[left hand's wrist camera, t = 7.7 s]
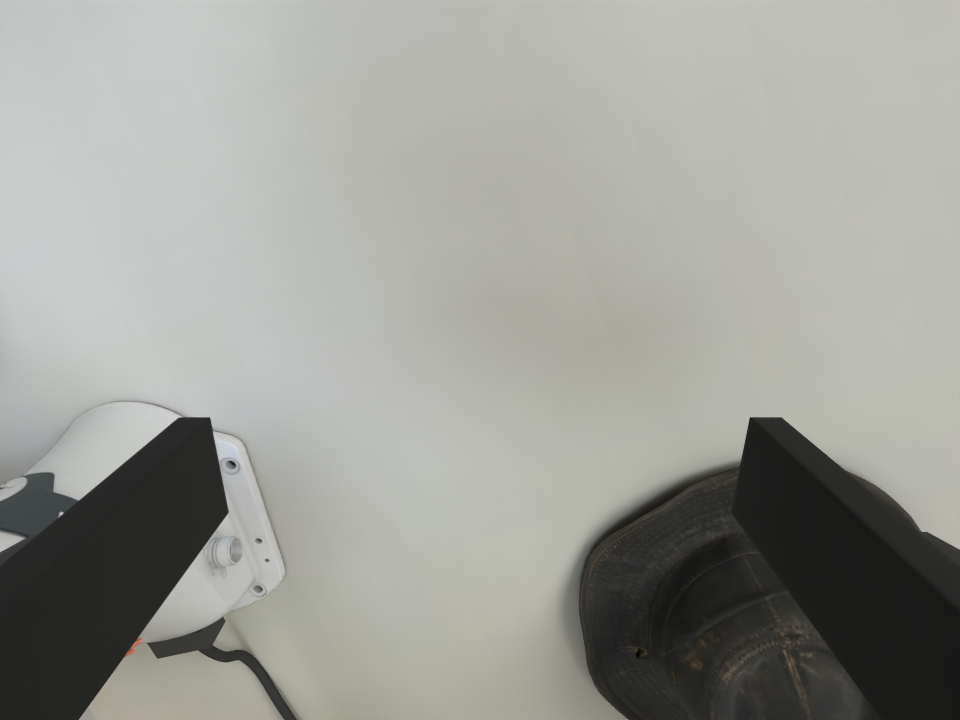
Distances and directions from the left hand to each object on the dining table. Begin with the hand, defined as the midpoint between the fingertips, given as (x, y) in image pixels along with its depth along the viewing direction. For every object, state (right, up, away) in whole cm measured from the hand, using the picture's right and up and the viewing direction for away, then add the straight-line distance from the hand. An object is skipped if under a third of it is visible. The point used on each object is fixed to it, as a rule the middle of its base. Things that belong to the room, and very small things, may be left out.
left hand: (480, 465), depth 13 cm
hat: (+26, -22, +38) cm, 51 cm away
